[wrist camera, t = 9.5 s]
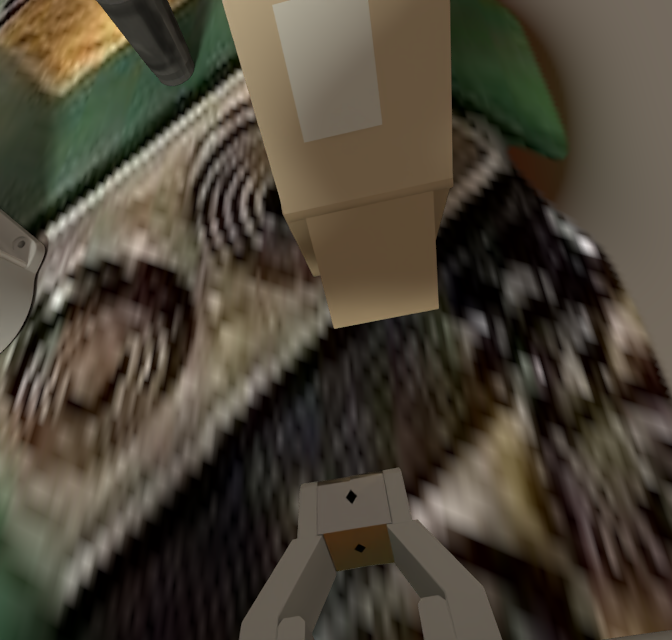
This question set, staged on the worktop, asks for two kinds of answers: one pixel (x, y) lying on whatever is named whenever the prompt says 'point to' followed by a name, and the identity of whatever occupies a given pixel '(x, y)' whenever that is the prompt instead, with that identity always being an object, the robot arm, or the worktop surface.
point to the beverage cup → (153, 36)
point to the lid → (356, 138)
